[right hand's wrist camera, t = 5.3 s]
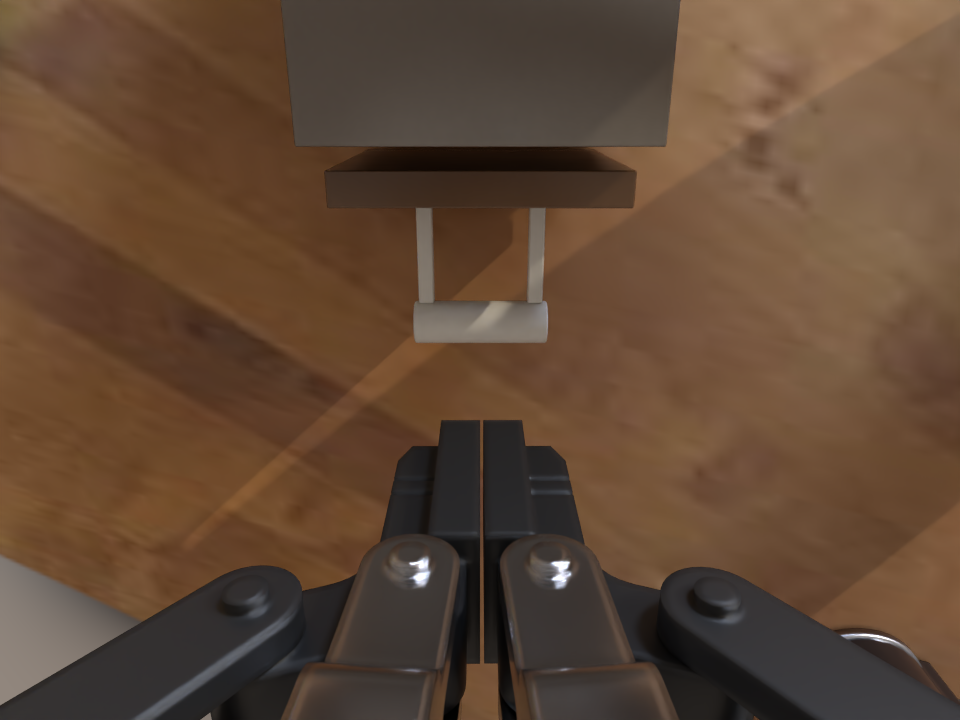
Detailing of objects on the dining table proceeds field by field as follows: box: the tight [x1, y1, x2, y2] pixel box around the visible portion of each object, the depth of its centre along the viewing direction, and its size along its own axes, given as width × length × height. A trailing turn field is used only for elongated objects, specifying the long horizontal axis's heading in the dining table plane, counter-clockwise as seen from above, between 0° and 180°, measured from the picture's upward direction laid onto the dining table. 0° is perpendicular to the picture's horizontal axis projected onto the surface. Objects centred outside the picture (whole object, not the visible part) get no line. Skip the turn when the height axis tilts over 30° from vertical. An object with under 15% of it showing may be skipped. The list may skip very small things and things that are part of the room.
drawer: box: [324, 150, 637, 343], centre depth 24 cm, size 24×10×9 cm, turn 0°
